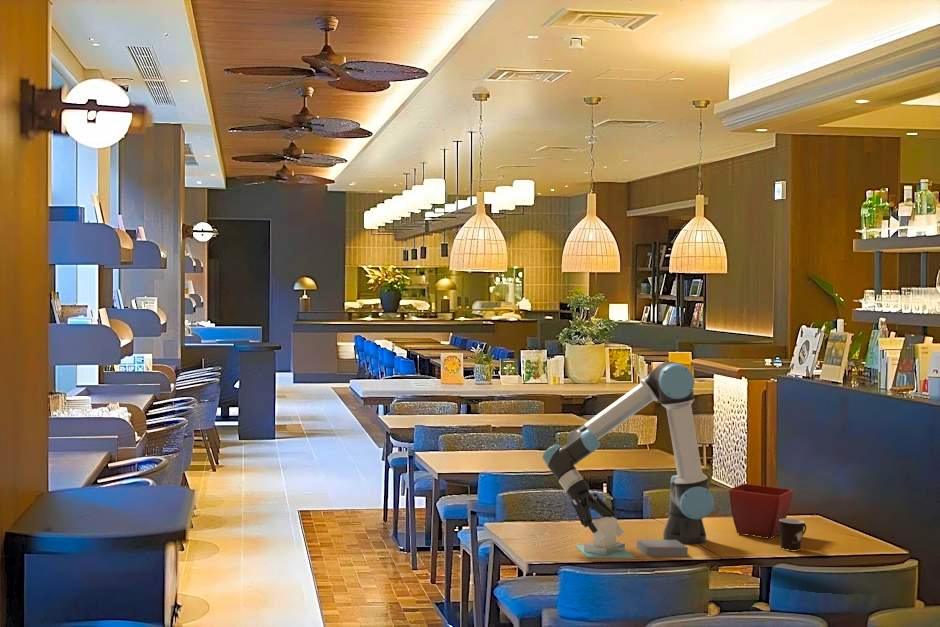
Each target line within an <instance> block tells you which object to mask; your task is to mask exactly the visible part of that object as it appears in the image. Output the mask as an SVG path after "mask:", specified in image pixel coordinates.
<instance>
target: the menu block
mask: <svg viewBox="0 0 940 627" xmlns="http://www.w3.org/2000/svg"><path fill="white" fill-rule="evenodd" d="M617 519H618V518H616V517H614V518H612V517H603V516H602V517H600V518H597V519H594V520H593V522H594V521H595V523H596V524H597V525H598V527H599V528H600V530H601V531H602V532H603V534H604V535H605V537H606V538H604V539H603V540H602V541H601V542H599V541H598V539H597V538H596V537H595V535H594V534H593V542H592V543H593V546H596V547H602V548H607V547H611V546H614V545H616V542H617V535H616V525H617V523H618V521H617Z"/></svg>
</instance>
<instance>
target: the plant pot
mask: <svg viewBox="0 0 940 627" xmlns="http://www.w3.org/2000/svg"><path fill="white" fill-rule="evenodd" d="M793 492H794V490H793V489H790V488H789V489H788V488H782V487H776V486H775V487H774V486H767V485H760V484H751V483H741V484H739V485H736V486H734V487H731V488H729V489H728V494H729V495H728V496H729V502H730V503H729V504H730V510H731V515H732V518H733V519H732V520H733V523H734V527H735V530H736V533H737V534H738V533H739V534H738V535H741V534H748V535H755V536H761V537H768V538H771V537H773V536H775V535H777V534H779V533H780V525H779V520H780V519H787V516H788V513H789V510H790V506H791V502H792V498H793ZM779 535H780V534H779ZM777 536H778V535H777ZM775 537H776V536H775ZM773 538H774V537H773ZM771 539H772V538H771Z"/></svg>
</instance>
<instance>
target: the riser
mask: <svg viewBox="0 0 940 627" xmlns="http://www.w3.org/2000/svg"><path fill="white" fill-rule="evenodd" d="M688 548H689V547H688V546H686V545H685V544H684V543H680V542H679V541H677V540H666V539H636V549H637V550H638V551H640V552H641V554H643V555H644V556H646V557H688V553H689V552H688Z"/></svg>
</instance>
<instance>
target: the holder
mask: <svg viewBox="0 0 940 627" xmlns="http://www.w3.org/2000/svg"><path fill="white" fill-rule="evenodd" d="M583 545H584V552H588V553H593V554H598V555H603V556H608V555H611V554H614V553H617V552H621V551H624V550H626V549H625V548H626V543H624V542H619V541H616V545H614V546H611V547H607V548H602V547H596V546H593V542H591V543H590V542H589V543H586V544H583Z"/></svg>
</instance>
